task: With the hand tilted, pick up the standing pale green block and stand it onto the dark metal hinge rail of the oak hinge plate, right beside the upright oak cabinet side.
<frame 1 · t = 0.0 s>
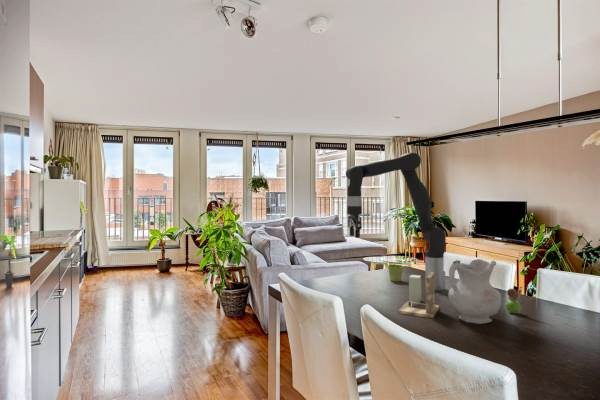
hand: (354, 236, 189), 29 cm above the table, tool pointing down, fingers open, 8 cm apart
ceramic pitcher: (472, 319, 149), on the table
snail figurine: (514, 313, 156), on the table
plant pot: (395, 280, 218), on the table
pale green block: (415, 301, 175), on the table
hinge base: (419, 310, 161), on the table
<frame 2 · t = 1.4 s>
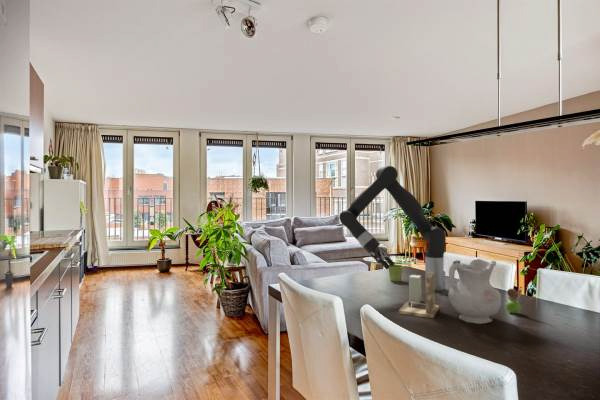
hand: (390, 266, 180), 16 cm above the table, tool tilted 45°, fingers open, 8 cm apart
nothing on the table moved.
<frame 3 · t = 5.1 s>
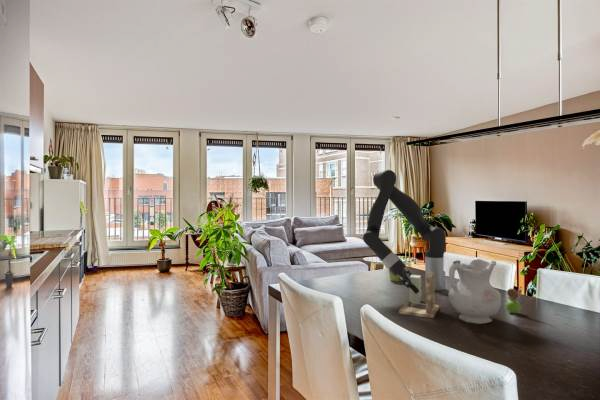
hand: (419, 290, 174), 5 cm above the table, tool tilted 45°, fingers closed on pale green block, 5 cm apart
pale green block: (415, 301, 175), on the table, touching gripper
everything else where it was.
when the fingers open (7 cm above the table, at t = 11.2 s): pale green block stays where it is, resting on hinge base.
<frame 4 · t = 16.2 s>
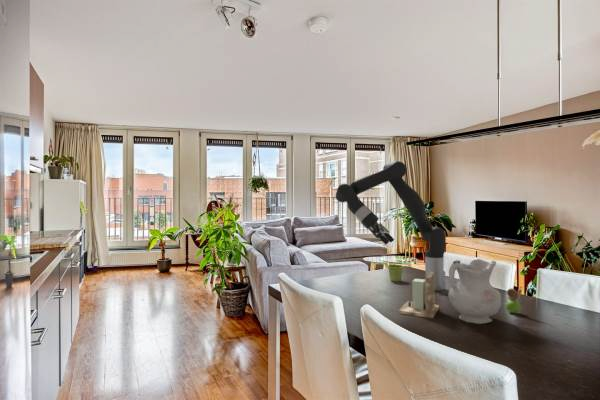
hand: (390, 242, 171), 29 cm above the table, tool tilted 45°, fingers open, 8 cm apart
pale green block: (419, 307, 161), point 1 cm above the table, touching hinge base
everything else where it was.
at the end: pale green block 0.1 cm off-centre on the hinge base, point 1.2 cm above the hinge base's base; pale green block tilted 0°; the gripper is holding nothing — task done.
